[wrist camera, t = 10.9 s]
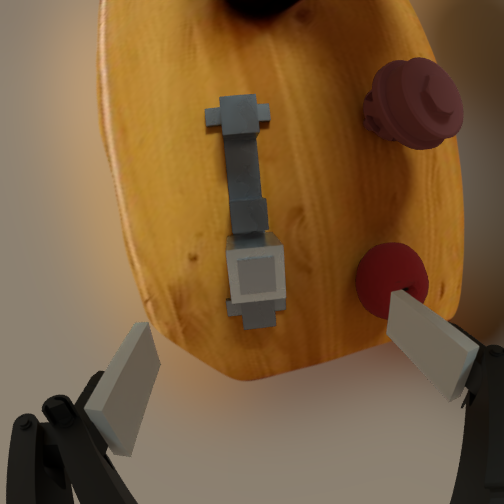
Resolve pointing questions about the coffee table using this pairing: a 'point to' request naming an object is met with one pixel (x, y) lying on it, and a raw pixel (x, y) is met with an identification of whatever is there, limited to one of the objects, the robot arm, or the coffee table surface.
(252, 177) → the rail
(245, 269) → the block
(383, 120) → the mechanical component
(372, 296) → the apple
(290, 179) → the coffee table surface
